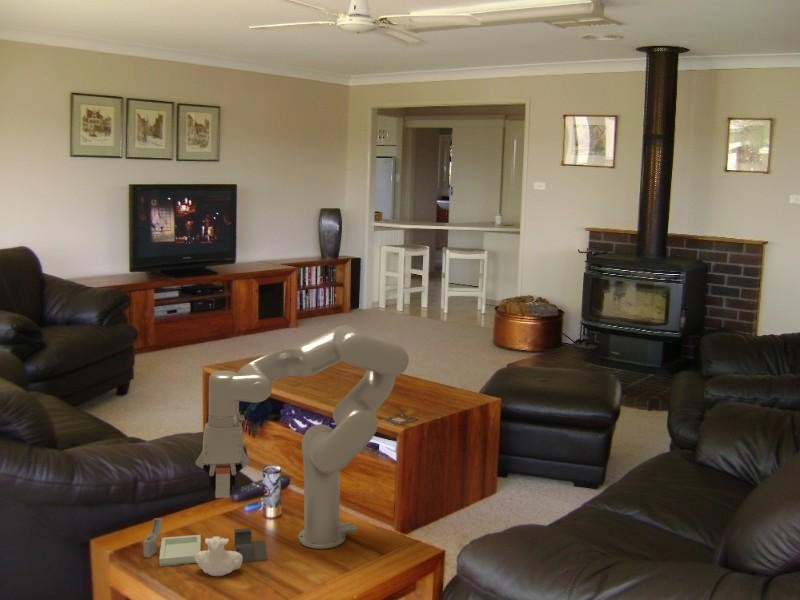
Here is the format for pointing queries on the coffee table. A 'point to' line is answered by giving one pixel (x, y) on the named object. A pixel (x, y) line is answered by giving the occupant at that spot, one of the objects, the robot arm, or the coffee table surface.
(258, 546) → the bracket
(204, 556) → the white rounded irregular piece
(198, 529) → the coffee table surface
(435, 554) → the coffee table surface
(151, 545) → the lighter
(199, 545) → the tray
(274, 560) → the coffee table surface
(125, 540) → the coffee table surface
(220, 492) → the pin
